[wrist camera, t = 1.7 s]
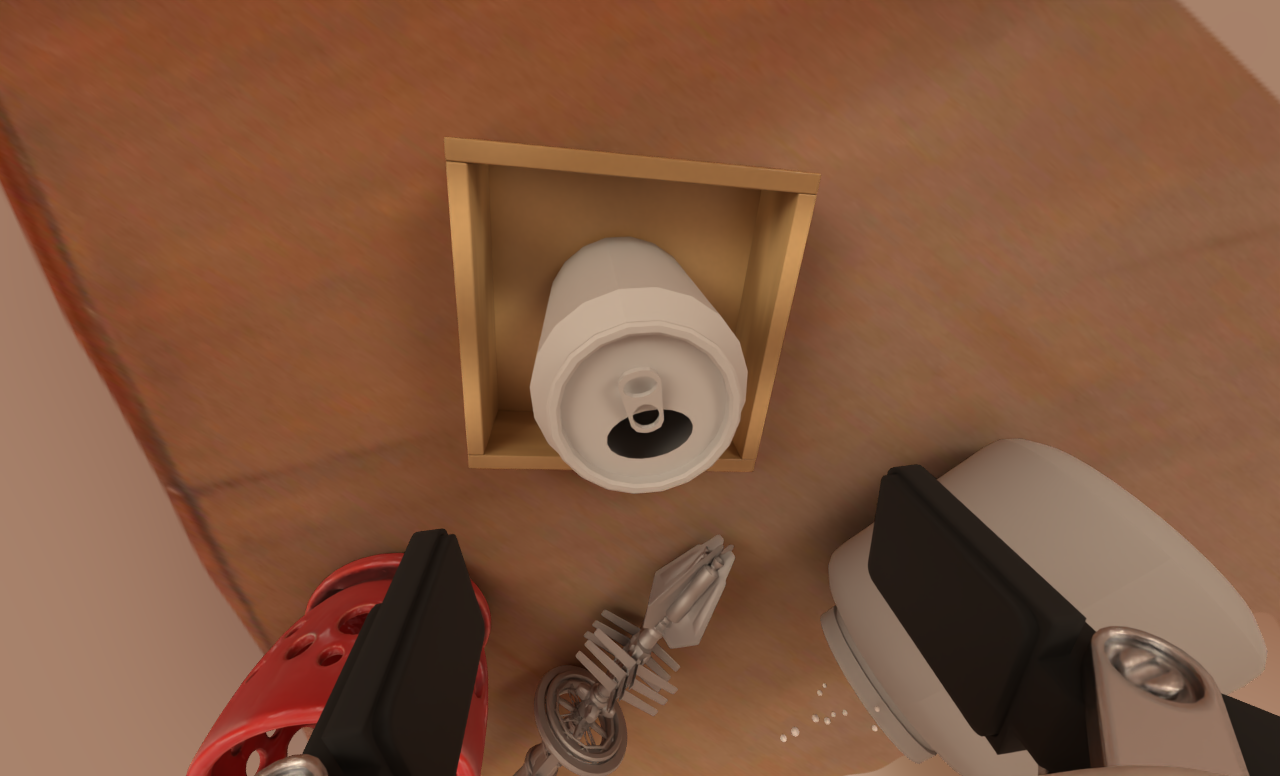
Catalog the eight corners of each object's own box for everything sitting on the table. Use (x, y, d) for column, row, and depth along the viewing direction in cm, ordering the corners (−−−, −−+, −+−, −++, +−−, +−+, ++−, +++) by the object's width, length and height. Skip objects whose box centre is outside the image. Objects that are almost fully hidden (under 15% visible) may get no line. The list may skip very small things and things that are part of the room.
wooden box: (471, 138, 22) (442, 136, 18) (777, 168, 24) (822, 173, 20) (486, 418, 28) (468, 468, 24) (728, 424, 30) (753, 472, 26)
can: (568, 383, 28) (560, 533, 17) (531, 250, 24) (490, 333, 14) (698, 355, 28) (771, 487, 17) (679, 218, 24) (754, 276, 14)
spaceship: (389, 885, 36) (475, 955, 35) (673, 535, 28) (784, 619, 28) (447, 783, 43) (518, 839, 43) (682, 487, 36) (769, 553, 36)
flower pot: (512, 656, 38) (484, 858, 27) (329, 665, 36) (223, 883, 25) (504, 525, 32) (465, 715, 21) (287, 528, 30) (127, 735, 20)
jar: (1128, 613, 35) (844, 805, 36) (966, 450, 41) (725, 618, 42) (1457, 671, 18) (899, 1033, 19) (1098, 377, 24) (686, 664, 25)
